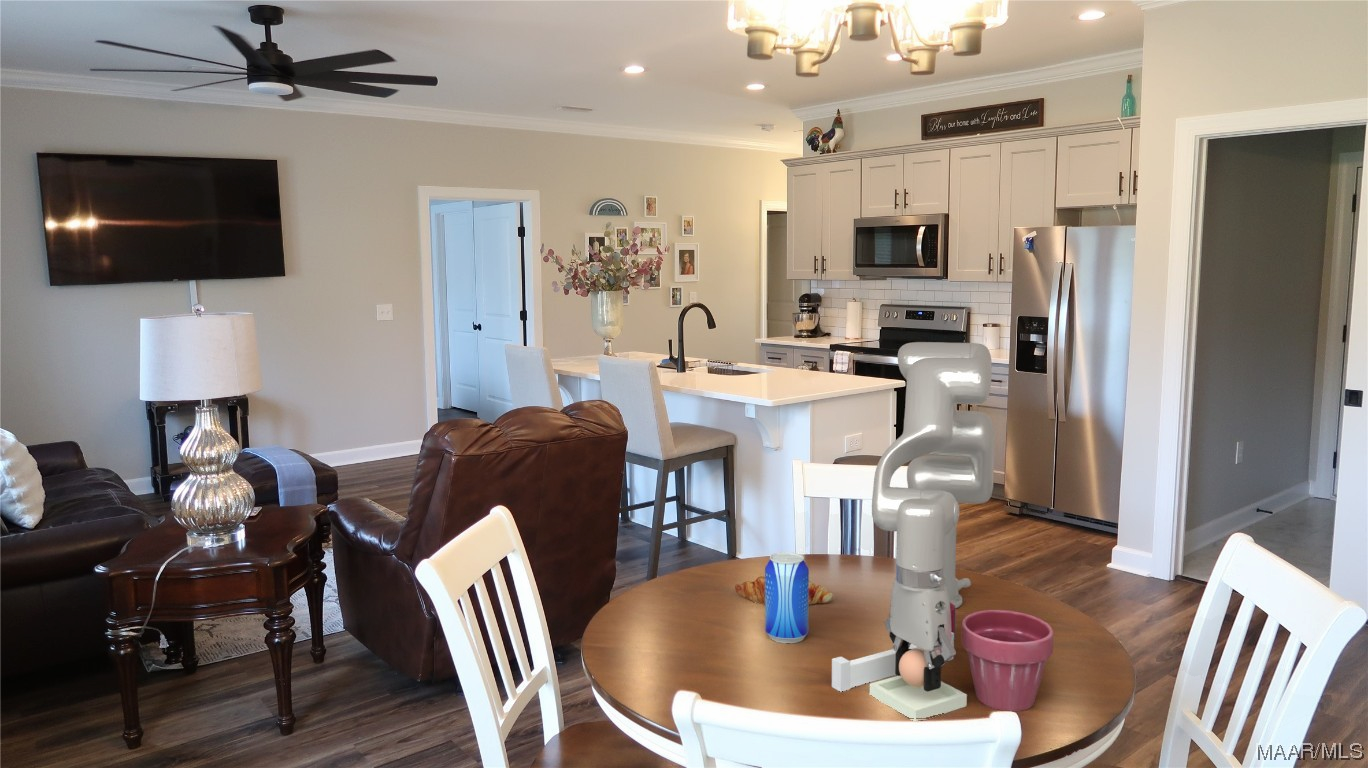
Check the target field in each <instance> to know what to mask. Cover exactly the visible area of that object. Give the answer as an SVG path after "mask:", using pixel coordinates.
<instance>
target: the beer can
mask: <svg viewBox="0 0 1368 768" xmlns="http://www.w3.org/2000/svg"><path fill="white" fill-rule="evenodd" d="M804 559H805V557H804V555H803V554H800V553H796V552H791V551H790V552H788V551H787V552H786V551H784V552H783V551H782V552H776V553H772V554H771V555H770V556H769V560H768V562H767V564H766V565H765V567H764V568H765V569H764V577H765V604H764V630H765V633H766V634H767V635H768V638H769V640H771V639H772V640H771V641H773V640H774V641H773V642H775V641H776V643H779V642H780V643H779V644H786V643H790V644H797V643H800V642H802V641H804V640H805V638H806V636H807V635H808V633H809V613H810V611H809V608H810V607H809V581H810V579H809V578H810V577H809V576H810V571H809V570H810V569H809V567H808V565H807V563H806V562H805V560H804Z"/></svg>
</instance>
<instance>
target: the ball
mask: <svg viewBox="0 0 1368 768" xmlns="http://www.w3.org/2000/svg"><path fill="white" fill-rule="evenodd" d="M924 667H927V663H926V659H925V655H924V651H923V650H920V649H912V650H909V651H907V652H906V653H905V654H903V656H902V657H901V659H900V662H899V672H900V675H901V677H902V678H903V680H904V681H905V682H906V683H908V684H909V685H911V686H914V687H924Z"/></svg>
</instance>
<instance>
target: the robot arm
mask: <svg viewBox="0 0 1368 768" xmlns="http://www.w3.org/2000/svg"><path fill="white" fill-rule="evenodd" d="M897 352H898V353H897V365H898V367H899V368H898V369H899V371H900V373H901V375H902V376H903V378H904V379H905V380H906V390H905V404H904V406H905V408H904V418H903V431H902V434H901V435H900V436H899V437H898V438H897V439H895V440H894V441H893V442H892V443H891V444H890V445H889V446H888V448H886V450H885V451H884V453H883V454H882V455H881V457H880V459H879V461H878V462H877V464H876V465H877V466H876V467H875V471H874V477H873V486H872V497H871V498H872V501H871V517H872V521H873V523H874V524H875V526H876V527H877V528H879V529H881V530H882V531H888V532H896V547H895V548H896V550H895V552H896V553H895V555H896V556H895V557H896V559H895V566H896V567H895V568H896V569H895V570H896V571H895V578H894V582H893V586H892V591H891V596H890V597H891V599H890V611H889V616H888V618H887V619H886V620H885V621H884V626H885V629H886V630H887V632H888V633H889V634H888V635H889V638H890V640H891V642H892V643H893V644H892V649H893V650H894V651H896V659H895V674H896V675H895V676H901V675H900V672H899V662H900V659H901V657H902V656H903V654H905V653H906V652H907V651H909V650H912V649H909V647H910V645H911V644H913V645H915V646H917V647H919V648H921V649H923V651H924V655H925V659H926V663H927V667H924V690H925V691H927V692H928V691H932V690H935V689H938V688H940V687H941V681H942V667H943V666H945V664H946V663H947V662H949V661H948V660H949V659H950V658H952V657H953V658H954V656H956V654H957V652H956V649H955V647H953V646H952V644H951V637H952V636H951V611H950V603H952V604H953V605H955V609H957V608H959V607H961V605H962V604H963V597H962V595H961V594H959V591H961V589H965V588H968V587H971V585H972V582H971V579H969V578H968V577H964V578H959V579H958V578H957V577H956V559H957V557H956V555H957V553H956V551H957V525H958V522H959V518H960V505H959V504H976V505H977V504H978V505H979V504H985V503H987V502H988V501H989V500H990V499H991V497H992V494H993V489H994V475H995V474H994V471H995V470H994V468H995V428H994V423H993V420H992V418H991V416H989V415H988V414H987V413H985V412H983V411H976V410H958V409H957V405H981V404H983V403H985V402H987V400H988V398H989V395H990V391H991V387H992V355H991V353H990V350H989V348H988V347H987V346H986V345H985V344H982V343H977V342H944V341H941V342H940V341H939V342H938V341H936V342H934V341H932V342H931V341H928V342H927V341H915V342H908V343H905V344H903V345H902V346H900V347H899V349H898V351H897ZM908 462H909V464H908V466H907V468H906V482H907V487H899V486H898V487H897V486H891V480H892V477H893V475H894V474H895V473H896V471H897V470H898V469H900V468H901V467H902V466H904V465H905V464H907V463H908ZM941 648H942V649H941ZM932 651H935V655H936V657H935V658H934V659H933V657H932Z"/></svg>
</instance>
